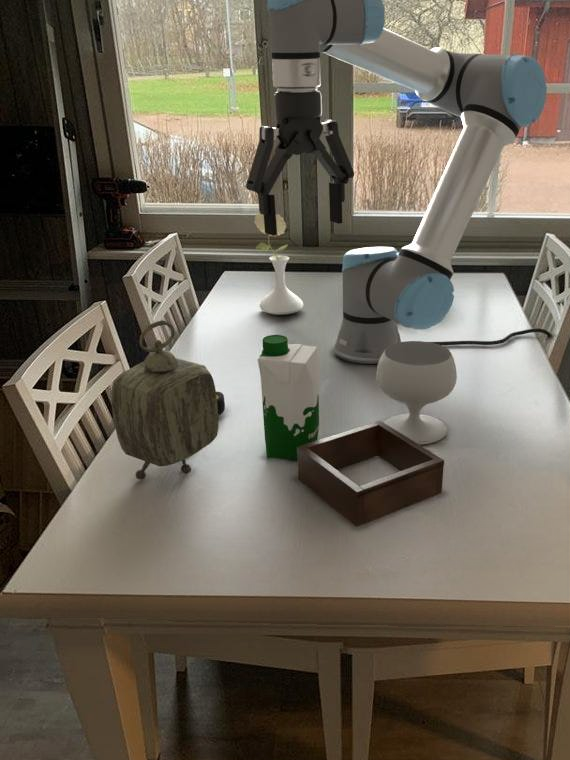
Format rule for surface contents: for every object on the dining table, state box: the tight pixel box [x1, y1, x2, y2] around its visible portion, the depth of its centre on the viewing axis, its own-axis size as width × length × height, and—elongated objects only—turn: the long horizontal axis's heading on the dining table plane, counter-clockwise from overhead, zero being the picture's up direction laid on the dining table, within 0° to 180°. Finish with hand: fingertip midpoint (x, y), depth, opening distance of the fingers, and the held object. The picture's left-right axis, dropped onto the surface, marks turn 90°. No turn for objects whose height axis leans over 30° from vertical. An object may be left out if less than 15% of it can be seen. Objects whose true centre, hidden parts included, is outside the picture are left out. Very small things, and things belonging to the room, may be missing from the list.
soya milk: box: [257, 334, 320, 462], centre depth 121 cm, size 9×9×20 cm
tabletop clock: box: [110, 320, 219, 481], centre depth 113 cm, size 14×9×25 cm, turn 149°
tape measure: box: [216, 391, 226, 417], centre depth 137 cm, size 7×7×4 cm
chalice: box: [376, 340, 458, 445], centre depth 129 cm, size 14×14×15 cm
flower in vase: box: [253, 212, 304, 316], centre depth 184 cm, size 13×11×25 cm
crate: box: [297, 420, 445, 528], centre depth 114 cm, size 16×16×6 cm
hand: (304, 228), depth 126 cm, fingers open, 13 cm apart
